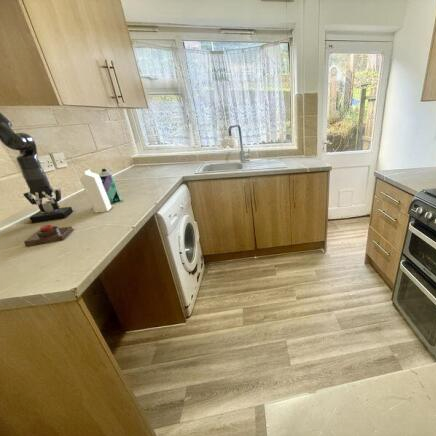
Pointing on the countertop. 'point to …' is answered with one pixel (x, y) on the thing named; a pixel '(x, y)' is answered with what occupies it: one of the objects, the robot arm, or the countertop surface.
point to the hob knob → (48, 207)
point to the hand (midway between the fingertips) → (50, 210)
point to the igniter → (48, 236)
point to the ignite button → (46, 228)
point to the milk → (95, 192)
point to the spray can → (110, 186)
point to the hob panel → (51, 215)
